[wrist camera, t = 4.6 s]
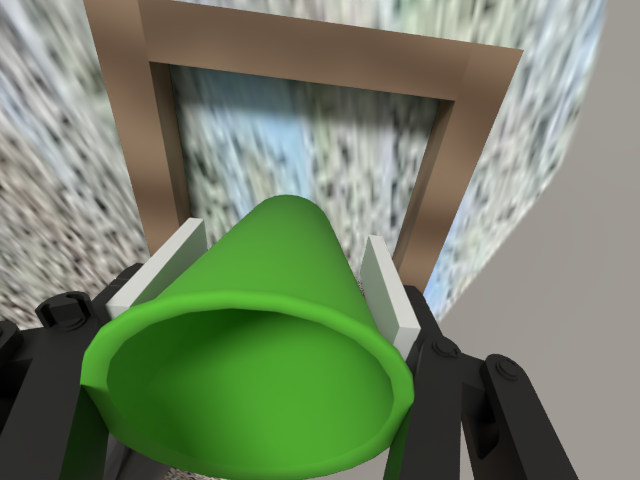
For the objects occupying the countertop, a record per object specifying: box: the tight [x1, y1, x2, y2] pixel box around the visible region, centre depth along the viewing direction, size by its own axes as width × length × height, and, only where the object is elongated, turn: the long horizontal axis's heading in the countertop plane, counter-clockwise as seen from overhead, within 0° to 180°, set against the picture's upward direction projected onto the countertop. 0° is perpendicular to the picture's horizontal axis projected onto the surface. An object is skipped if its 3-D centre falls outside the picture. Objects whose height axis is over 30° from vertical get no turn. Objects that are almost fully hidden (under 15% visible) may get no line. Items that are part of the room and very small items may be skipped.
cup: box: [80, 195, 415, 480], centre depth 12 cm, size 9×9×11 cm
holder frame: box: [83, 0, 524, 301], centre depth 19 cm, size 21×21×2 cm
